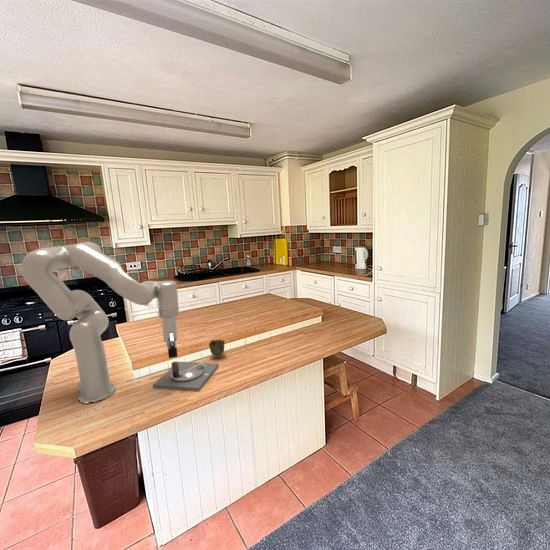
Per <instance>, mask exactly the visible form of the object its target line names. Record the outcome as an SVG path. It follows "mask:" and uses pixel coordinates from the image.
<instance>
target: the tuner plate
mask: <svg viewBox="0 0 550 550" xmlns="http://www.w3.org/2000/svg"><path fill="white" fill-rule="evenodd" d="M177 362H178V366H180V365H183V364H188V363H198V364H199V363H200V362H191V361H177ZM201 365H203V367H204V373H203V374H202V375H201V376H200V377H198V378H196V379H193V380H190V381H184V382H178V381H174V380H172V379H171V377H170V373H171V371H172V367H171V368H170V369H168V370H167V371H166V372H164V374H163V375H162V376H161V377H159V378H158V379H157V381H155V382H154V383H153V384H152V388H153V389H159V390H174V391H175V390H176V391H187V392H200V391H201V390H202V389H203V388H204V386H205V385H206V383H207V382H208V381H209V380H210V378H211V377H212V376H213V375H214V373H215V372H216V371H217V370H218V368H220V367H219V363H210V362H209V363H208V362H204V363H202V364H201ZM212 374H213V375H212Z"/></svg>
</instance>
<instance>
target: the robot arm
mask: <svg viewBox="0 0 550 550" xmlns="http://www.w3.org/2000/svg"><path fill="white" fill-rule="evenodd" d="M70 267H78V268H80V269H81V270H84V271H85V272H86V273H89V274H91V275H92V276H93V277H96V278H98V279H99V280H101V281H103V282H104V283H106V285H107V286H108V287H109V288H110V289H112V290H113V291H114V293H116V294H118V295H119V296H121V297H122V298H123V299H124V298H125V299H126V300H127V301H129V302H131V303H133V304H135V305H139V306H145V305H148V304H151V303H152V302H153V300H154V299H157V307H158V308H157V309H158V317H159V318H160V319H161V325H162V335H163V342H164V343H165V344H166V345H167V346H166V347H167V354H168V358H169V359H173V358H177V357H178V347H177V344H176V342H177V341H178V325H177V324H178V323H177V322H178V321H177V317H178V316H179V315H180V310H179V297H178V296H179V295H178V286H177V285H178V284H177V283H176V281H175V280H162V281H160V280H159V281H158V280H157V281H156V280H145V281H142V282H141V283H140V282H138V281H137V280H135V279H133V278H131V276H129V275H128V274H127V273H126V272H125V271H124V269H123V268H122V265H121V263H120V262H118V261H117V260H115V259H113V258H112V257H109V255H106V254H104V253H103V250H102V248H101V247H100V246H99V245H98V244H96V243H94V242H91V241H83V242H77V243H73V244H67V245H58V246H51V247H42V248H38V249H34V250H32V251H30V252H29V253H28V254H26V255H25V256H24V258H23V259H22V262H21V265H20V269H21V270H20V271H21V272H20V273H21V275H22V277H23V279H24V280H25V282H26V283H27V285H29V287H30V288H31V289H32V290H34V292H35V293H36V294H37V295H38V296H39V298H40V299H41V300H42V301H43V302H44V303H45V304H46V305H47V307H48V308H49V309H50V310H51V311H52V313H53V314H54V315H55V316H56V317H57V318H58V319H60V320H63V321H70V320H74V319H75V318H77V320H76V321H75V322H74V323H72V326H71V327H70V330H69V333H68V334H69V340H70V342H71V345H72V347H73V349H74V354H75V359H76V363H77V369H78V375H79V379H80V381H78V383H77V385H76V386H75V390H76V391H80V392H79V395H78V396H77V399H78V401H79V400H80V401H82V402H94V403H97V402H96V401H98V402H100V401H99V400H101V401H103V400H102V399H104V400H105V398H106V399H107V398H109V397H110V395H111V396H112V395H113V394H114V393H115V392H116V385H115V384H114V383H112V382H111V381H110V380H111V379H110V376H109V375H110V373H109V368H108V367H109V366H108V360H107V355H106V348H105V345H104V343H103V341H102V338H101V335H102V334H103V333H104V332H105V331H106V330H107V329H108V327H109V322H110V320H109V318H108V315H107V314H106V312H105V311H104V310H103V309H102V308H101V306H100V305H99V304H98V303H97V301H95V299H94V298H93V296H92V295H90V294H89V293H88V292H86V291H84V290H82V289H73V290H71V289H70V288H69V287H68V286H67V285H66V284H65V282H64V281H63V280H62V279H61V278H59V277H58V276H57V275H55V274H54V273H53V272H54V271H56V270H60V269H65V268H70ZM81 398H82V399H81ZM80 401H79V402H80Z"/></svg>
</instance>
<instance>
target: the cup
mask: <svg viewBox="0 0 550 550" xmlns="http://www.w3.org/2000/svg"><path fill="white" fill-rule="evenodd" d="M208 345H209V350H210V353H211V355H212V356H213V357H214V358H215V359H218V360H219V359H221V358H222V356H223V354H224V352H225V340H224V339H215V340H214V339H213V340H211V341H209V342H208Z"/></svg>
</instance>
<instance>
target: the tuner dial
mask: <svg viewBox="0 0 550 550" xmlns="http://www.w3.org/2000/svg"><path fill="white" fill-rule="evenodd" d="M178 362H179V361H173V362H171V368H172V371H171V373H170V377H171V379H172V380H174V381H178V382H184V381H190V380H193V379H196V378H198V377H200V376H201V375H202V374H203V373H204V367H203V365H201V364H202V363H206V361H205V360H204V361H201V362H196V363H188V364H183V365H180V366H178ZM198 363H199V364H198Z"/></svg>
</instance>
